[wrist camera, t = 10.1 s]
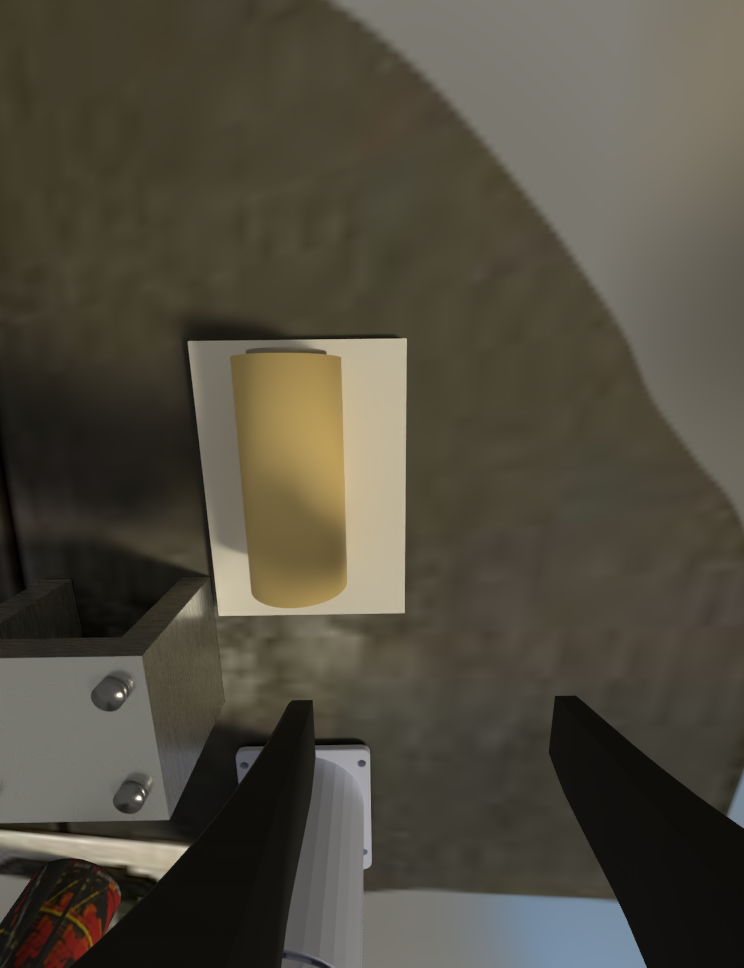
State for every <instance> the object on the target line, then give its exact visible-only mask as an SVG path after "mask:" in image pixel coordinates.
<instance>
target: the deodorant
mask: <svg viewBox="0 0 744 968" xmlns="http://www.w3.org/2000/svg"><path fill="white" fill-rule="evenodd" d="M120 899H121V892H120V888H119V885H118V884H117V882H116V881H115V879H114V877H113V876H111V875H110V874H109V873H108V872H107V871H106V870H104V869H103V868H101V867H99V866H97V865H96V864H93V863H90V862H87V861H84V860H77V859H60V860H56V861H53V862H49V863H48V864H46V865H44V866H42V867H41V868H40V869H39V870H38V871H37V872H36V873H35V874H34V876H33V877H32V879H31V880H30V882H29V883H28V885H27V886H26V887H25V889H24V890H23V892H22V893H21V895H20V896H19V898H18V899H17V901H16V902H15V903H14V905H13V906H12V908H11V909H10V911H9V912H8V913H7V915H6V916H5V918H4V919H3V921H2V922H1V923H0V968H69V967H70V966H71V965H72V964H73V963H74V962H75V961H77V960H78V959H79V958H80V957H81V956H82V955H83V954H84V953H85V952H86V951H88V950H89V949H90V948H91V947H92V946H93V945H94V944H95V943H96V942H98V941H99V940H100V939H101V938H102V937H103V936H104V934H105V932H106V930H107V928H108V926H109V924H110V922H111V920H112V918H113V916H114V914H115V912H116V910H117V908H118V906H119V904H120Z"/></svg>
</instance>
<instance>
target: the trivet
mask: <svg viewBox="0 0 744 968" xmlns="http://www.w3.org/2000/svg"><path fill="white" fill-rule="evenodd" d="M267 347H297V348H312V349H320V350H325V351H326V352H327V355H334V356H339V357H341V367H342V403H343V440H344V476H345V512H346V548H347V586H346V587H345V589H344V590H343V591H342V592H341V593H340V594H339V595H337V596H336V597H334V598H333V599H331V600H329V601H326V602H324V603H321V604H317V605H314V606H309V607H302V608H277V607H272V606H268V605H265V604H263V603H261V602H259V601H257V600H256V599H255V598H254V597H253V595H252V593H251V584H250V573H249V562H248V551H247V540H246V528H245V517H244V506H243V495H242V484H241V473H240V462H239V451H238V440H237V429H236V418H235V406H234V395H233V384H232V373H231V362H230V357H231V356H233V355H240V354H246V350H248V349H254V348H267ZM188 349H189V358H190V367H191V376H192V384H193V393H194V402H195V411H196V419H197V428H198V437H199V446H200V454H201V463H202V472H203V481H204V489H205V498H206V507H207V516H208V524H209V533H210V542H211V550H212V559H213V568H214V577H215V585H216V594H217V603H218V612H219V616H247V615H311V614H375V613H405V483H406V353H407V338H404V339H320V340H235V341H188Z"/></svg>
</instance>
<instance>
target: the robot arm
mask: <svg viewBox="0 0 744 968" xmlns="http://www.w3.org/2000/svg"><path fill="white" fill-rule="evenodd" d="M549 755H550V757H551V760H552V763H553V765H554V768H555V771H556V774H557V776H558V779H559V781H560V784H561V786H562V789H563V791H564V794H565V796H566V798H567V800H568V802H569V804H570V806H571V808H572V810H573V812H574V814H575V816H576V818H577V820H578V822H579V824H580V826H581V828H582V830H583V832H584V834H585V836H586V838H587V840H588V842H589V844H590V846H591V848H592V850H593V852H594V854H595V856H596V858H597V860H598V862H599V864H600V866H601V868H602V870H603V872H604V874H605V876H606V878H607V879H608V881H609V883H610V885H611V887H612V889H613V891H614V893H615V895H616V898H617V900H618V902H619V904H620V906H621V908H622V910H623V912H624V914H625V917H626V919H627V921H628V924H629V926H630V928H631V931H632V933H633V935H634V938H635V940H636V943H637V945H638V947H639V950H640V952H641V955H642V957H643V959H644V962H645V964H646V966H647V968H744V828H742V827H741V826H739V825H738V824H736V823H735V822H734V821H732V820H731V819H729V818H728V817H726V816H725V815H724V814H722V813H721V812H719V811H718V810H716V809H715V808H714V807H712V806H711V805H709V804H708V803H707V802H705V801H704V800H703V799H701V798H700V797H698V796H697V795H696V794H694V793H693V792H692V791H690V790H689V789H688V788H687V787H685V786H684V785H683V784H681V783H680V782H679V781H677V780H676V779H675V778H674V777H672V776H671V775H670V774H668V773H667V772H666V771H665V770H663V769H662V768H661V767H660V766H658V765H657V764H656V763H655V762H653V761H652V760H651V759H650V758H649V757H647V756H646V755H645V754H644V753H642V752H641V751H640V750H639V749H638V748H636V747H635V746H634V745H633V744H632V743H630V742H629V741H628V740H627V739H626V738H625V737H623V736H622V735H621V734H620V733H619V732H618V731H616V730H615V729H614V728H613V727H612V726H611V725H609V724H608V723H607V722H606V721H605V720H604V719H602V718H601V717H600V716H599V715H598V714H597V713H596V712H594V711H593V710H592V709H591V708H590V707H589V706H587V705H586V704H585V703H584V702H583V701H581V700H580V699H579V698H578V697H577V696H555V702H554V711H553V719H552V728H551V737H550V746H549ZM359 760H364V761H359ZM244 762H246V763H244ZM236 766H237V775H238V783H239V785H238V786H237V788H236V789H235V790H234V792H233V793H232V795H231V796H230V797H229V799H228V800H227V801H226V803H225V804H224V805H223V807H222V808H221V809H220V811H219V812H218V813H217V814H216V816H215V817H214V818H213V819H212V821H211V822H210V823H209V824H208V826H207V827H206V828H205V829H204V831H203V832H202V833H201V834H200V835H199V837H198V838H197V839H196V840H195V841H194V842H193V844H192V845H191V846H190V847H189V848H188V849H187V850H186V852H185V853H184V854H183V855H182V856H181V857H180V858H179V860H178V861H177V862H176V863H175V864H174V865H173V866H172V867H171V868H170V870H169V871H168V872H167V873H166V874H165V875H164V876H163V877H162V878H161V879H160V880H159V881H158V882H157V883H156V885H155V886H154V887H153V888H152V889H151V890H150V891H149V892H148V893H147V894H146V895H145V896H144V897H143V898H142V899H141V900H140V901H139V902H138V903H137V904H136V905H135V906H134V907H133V908H132V909H131V910H130V911H129V912H128V913H127V914H126V915H125V916H124V917H123V918H122V919H121V920H120V921H119V922H118V923H117V924H116V925H115V926H114V927H113V928H111V929H110V930H109V931H108V932H107V933H106V934H105V935H104V936H103V937H102V938H101V939H100V940H99V941H98V942H96V943H95V944H94V945H93V946H92V947H91V948H90V949H89V950H88V951H86V952H85V953H84V954H83V955H82V956H81V957H80V958H79V959H78V960H77V961H75V962H74V963H73V964H72V965H71V966H70V967H69V968H362V939H363V869H367V868H369V867H370V866H371V863H372V852H371V792H370V750H369V748H368V747H367V746H365V745H315V735H314V718H313V700H293V701H291V702H290V703H289V704H288V706H287V708H286V710H285V712H284V713H283V715H282V717H281V719H280V721H279V723H278V724H277V726H276V728H275V730H274V731H273V733H272V735H271V736H270V738H269V740H268V741H267V743H266V744H265V746H257V747H241V748H240V749H239V750H238V751H237V754H236Z"/></svg>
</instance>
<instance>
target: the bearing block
mask: <svg viewBox="0 0 744 968" xmlns="http://www.w3.org/2000/svg"><path fill="white" fill-rule="evenodd" d="M224 702H225V700H224V691H223V682H222V674H221V665H220V657H219V648H218V640H217V631H216V623H215V614H214V606H213V597H212V589H211V580H210V577H182V578H181V579H180V580H179V581H178V582H177V583H176V584H175V585H174V586H173V587H172V588H171V589H170V590H169V591H168V592H167V593H166V594H165V595H164V596H163V597H162V598H161V599H160V600H159V601H158V602H157V603H156V604H155V605H154V606H153V607H152V608H151V609H150V610H149V611H148V612H147V613H146V614H145V615H144V616H143V617H142V618H141V619H140V620H139V621H138V622H137V623H136V624H135V625H134V626H133V627H132V628H131V629H129V630H128V631H127V632H126V633H125V634H124V635H123V636H122V637H106V638H83V634H82V629H81V624H80V619H79V614H78V609H77V605H76V600H75V595H74V590H73V585H72V580H71V579H43V580H41V581H40V582H38V583H36V584H34V585H33V586H31V587H29V588H27V589H26V590H24V591H22V592H20V593H19V594H17V595H15V596H13V597H12V598H10V599H8V600H6V601H5V602H3V603H1V604H0V823H28V822H83V821H137V820H170V818H171V816H172V814H173V811H174V809H175V807H176V805H177V803H178V801H179V799H180V796H181V794H182V792H183V790H184V788H185V786H186V784H187V781H188V779H189V777H190V775H191V773H192V771H193V769H194V766H195V764H196V762H197V760H198V758H199V756H200V754H201V751H202V749H203V747H204V745H205V743H206V741H207V739H208V736H209V734H210V732H211V730H212V728H213V726H214V724H215V721H216V719H217V717H218V715H219V713H220V711H221V709H222V706H223V704H224Z"/></svg>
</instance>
